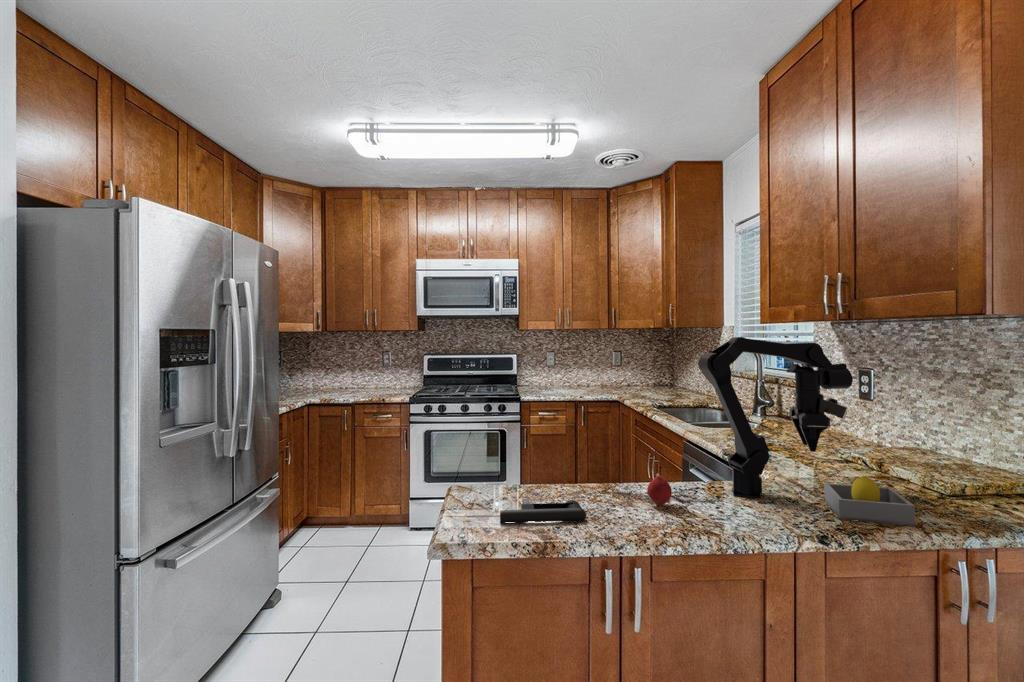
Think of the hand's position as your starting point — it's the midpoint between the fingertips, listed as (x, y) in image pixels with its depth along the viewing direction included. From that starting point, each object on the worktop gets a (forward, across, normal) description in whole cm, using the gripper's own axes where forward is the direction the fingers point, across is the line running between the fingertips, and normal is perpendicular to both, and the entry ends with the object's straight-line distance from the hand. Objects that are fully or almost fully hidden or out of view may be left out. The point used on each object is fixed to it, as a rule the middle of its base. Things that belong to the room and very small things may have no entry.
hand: (809, 447), depth 131 cm
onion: (+12, -23, +37) cm, 45 cm away
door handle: (+13, -37, +64) cm, 75 cm away
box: (+12, -14, -9) cm, 20 cm away
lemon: (+12, -14, -9) cm, 20 cm away
